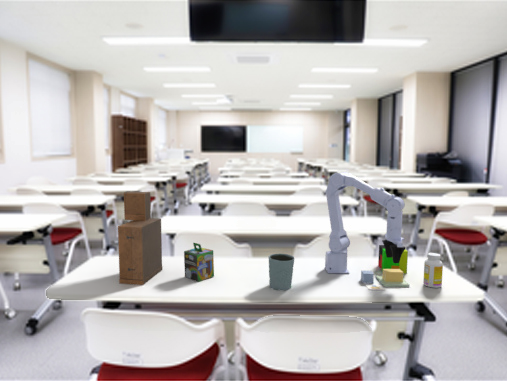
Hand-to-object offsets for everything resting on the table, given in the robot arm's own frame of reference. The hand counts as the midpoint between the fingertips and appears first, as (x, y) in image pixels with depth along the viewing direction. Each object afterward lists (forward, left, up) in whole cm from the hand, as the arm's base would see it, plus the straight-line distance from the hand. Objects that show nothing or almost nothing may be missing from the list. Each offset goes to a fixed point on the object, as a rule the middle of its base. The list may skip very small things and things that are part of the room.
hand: (392, 260), depth 152 cm
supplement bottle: (+15, -3, -10) cm, 18 cm away
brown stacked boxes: (-105, +5, -10) cm, 105 cm away
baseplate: (0, 0, -9) cm, 9 cm away
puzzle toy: (+6, +17, -10) cm, 20 cm away
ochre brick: (0, 0, -8) cm, 8 cm away
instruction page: (-9, -6, -9) cm, 14 cm away
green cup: (-46, -6, -10) cm, 47 cm away
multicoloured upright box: (-80, +4, -10) cm, 80 cm away
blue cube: (-10, +1, -10) cm, 14 cm away
